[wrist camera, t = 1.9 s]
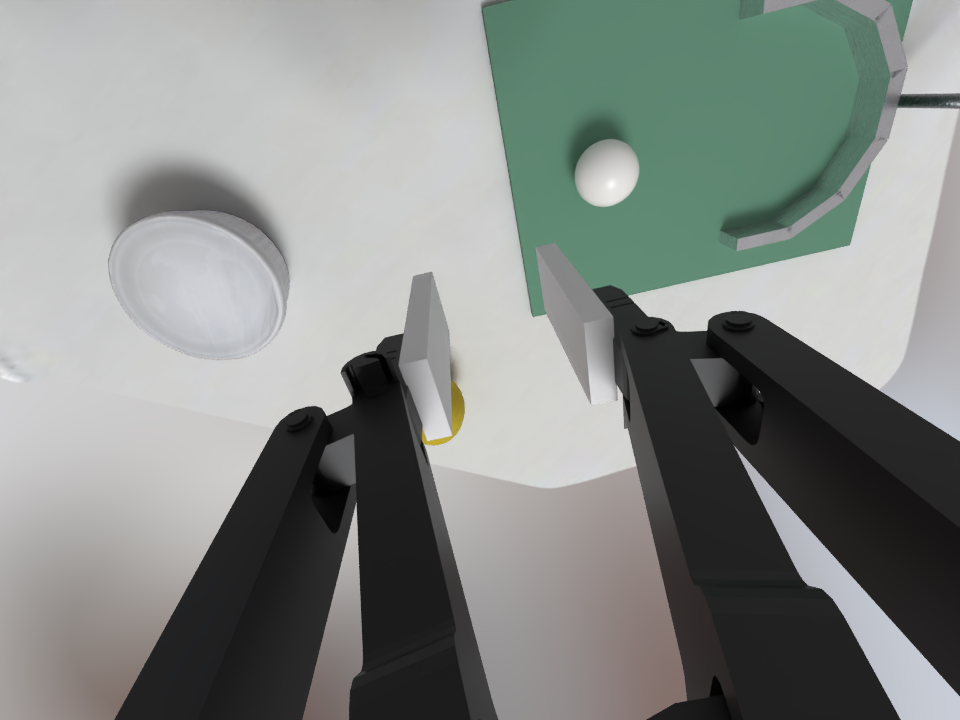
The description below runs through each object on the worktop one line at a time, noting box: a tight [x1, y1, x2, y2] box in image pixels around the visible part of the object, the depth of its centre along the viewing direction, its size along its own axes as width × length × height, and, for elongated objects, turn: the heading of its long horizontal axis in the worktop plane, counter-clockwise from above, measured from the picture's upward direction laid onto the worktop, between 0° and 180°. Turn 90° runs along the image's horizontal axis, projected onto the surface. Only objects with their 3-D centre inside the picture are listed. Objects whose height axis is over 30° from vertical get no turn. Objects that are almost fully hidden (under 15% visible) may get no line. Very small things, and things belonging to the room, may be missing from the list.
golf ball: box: [575, 139, 639, 207], centre depth 30 cm, size 4×4×4 cm
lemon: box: [422, 380, 465, 445], centre depth 38 cm, size 6×6×8 cm
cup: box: [719, 0, 960, 251], centre depth 24 cm, size 16×12×16 cm
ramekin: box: [108, 210, 289, 360], centre depth 32 cm, size 11×11×5 cm
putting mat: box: [482, 0, 913, 317], centre depth 32 cm, size 22×28×1 cm
